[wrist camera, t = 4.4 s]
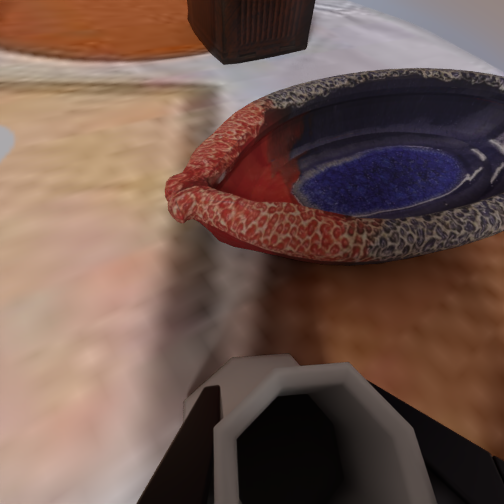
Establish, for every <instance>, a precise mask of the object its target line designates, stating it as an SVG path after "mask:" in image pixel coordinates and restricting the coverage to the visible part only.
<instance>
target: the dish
mask: <svg viewBox="0 0 504 504" xmlns="http://www.w3.org/2000/svg"><path fill="white" fill-rule="evenodd" d="M165 197H166V199H167V201H168V211H169V212H170V214H171V216H172V217H173V218H174V219H175V220H176V221H177V222H180V223H185V222H186V221H187V220H190V219H194V220H196V221H198V222H200V223H201V224H202V225H203V226H205V227H206V228H207V229H208V230H209V231H210V232H211V233H212V234H213V235H214V236H215V237H216V238H217V239H218V240H219V241H221V242H224V243H226V244H229V245H231V246H234V247H238V248H243V249H249V250H254V251H259V252H263V253H268V254H272V255H277V256H281V257H285V258H290V259H294V260H299V261H306V262H312V263H318V264H329V265H349V266H350V265H364V264H377V263H384V262H390V261H396V260H402V259H408V258H412V257H416V256H420V255H424V254H429V253H433V252H437V251H441V250H446V249H450V248H454V247H458V246H462V245H465V244H468V243H471V242H474V241H478V240H481V239H484V238H487V237H490V236H493V235H495V234H497V233H500V232H502V231H504V77H502V76H497V75H493V74H486V73H480V72H473V71H463V70H452V69H431V68H406V69H387V70H376V71H366V72H358V73H351V74H345V75H338V76H334V77H329V78H324V79H319V80H314V81H310V82H306V83H302V84H298V85H294V86H291V87H288V88H285V89H282V90H279V91H276V92H273V93H271V94H269V95H267V96H264V97H262V98H260V99H258V100H256V101H253V102H252V103H250V104H248V105H247V106H245V107H243V108H242V109H240V110H239V111H237V112H235V113H234V114H233V115H232V116H231V117H230V118H229V119H227V120H226V121H225V122H224V123H223V124H222V125H221V126H220V127H219V128H218V129H217V130H216V131H215V132H214V133H213V134H212V135H211V136H210V137H208V138H207V139H206V140H205V141H204V142H203V143H202V144H201V145H200V146H199V147H198V148H197V149H196V150H195V151H194V153H193V154H192V155H191V158H190V160H189V162H188V165H187V166H186V168H185V169H184V171H183V172H182V173H180V174H177V175H174V176H172V177H170V178H169V179H168V181H167V182H166V187H165Z"/></svg>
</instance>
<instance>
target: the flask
mask: <svg viewBox="0 0 504 504" xmlns="http://www.w3.org/2000/svg"><path fill="white" fill-rule="evenodd" d="M212 385H219V386H220V388H221V397H222V407H223V419H222V420H221V421H220V422H219V423H218V424H217V425H216V426H215V427H214V504H437V501H436V498H435V495H434V492H433V489H432V485H431V482H430V479H429V476H428V473H427V470H426V467H425V463H424V460H423V457H422V454H421V451H420V448H419V445H418V441H417V438H416V435H415V432H414V429H413V427H412V426H411V425H410V424H409V423H408V422H407V421H406V420H405V419H404V418H403V417H402V416H401V415H400V414H399V413H398V412H397V411H396V410H395V409H394V408H393V407H392V406H391V405H390V404H389V403H388V402H387V401H386V400H385V399H384V398H383V397H382V396H381V395H380V394H379V393H378V392H377V391H376V390H375V389H374V388H373V387H372V385H371V384H370V383H369V382H368V381H367V380H366V379H365V378H364V377H363V376H362V375H361V374H360V373H359V372H358V371H357V370H356V369H355V368H354V367H353V366H352V365H351V364H350V363H349V362H343V363H331V364H319V365H307V366H300V365H299V364H298V363H297V362H296V360H295V359H294V358H293V357H292V356H291V355H290V354H289V353H286V354H273V355H260V356H247V357H234V358H231V359H230V360H229V361H228V362H227V363H226V364H225V365H223V366H222V367H221V368H220V369H219V370H218V371H217V372H216V373H215V374H213V375H212V376H211V377H210V378H209V379H208V380H207V381H206V382H204V383H203V384H202V385H201V386H200V387H199V388H198V389H197V390H196V391H194V392H193V393H192V394H191V395H190V396H189V397H188V398H187V399H185V400H184V410H183V422H184V421H185V419H186V417H187V416H188V414H189V412H190V410H191V409H192V407H193V405H194V403H195V402H196V400H197V398H198V397H199V395H200V393H201V391H202V390H203V388H204V387H206V386H212Z"/></svg>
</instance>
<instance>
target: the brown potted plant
mask: <svg viewBox="0 0 504 504" xmlns="http://www.w3.org/2000/svg"><path fill="white" fill-rule="evenodd" d="M187 4H188V21H189V23H190V25H191V27H192V29H193V31H194V33H195V34H196V36H197V37H198V38H199V39H200V41H201V42H202V43H203V44H204V46H205V47H206V48H207V49H208V51H209V52H210V53H211V54H212V55H213V56H214V57H216V58H217V59H218V60H219V61H220V62H221V63H222V64H224V65H225V64H237V63H243V62H249V61H254V60H259V59H265V58H270V57H275V56H279V55H283V54H287V53H291V52H295V51H300V50H304V49H306V47H307V40H308V35H309V30H310V25H311V20H312V15H313V9H314V4H315V0H187Z"/></svg>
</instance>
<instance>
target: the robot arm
mask: <svg viewBox="0 0 504 504" xmlns="http://www.w3.org/2000/svg"><path fill="white" fill-rule="evenodd" d="M367 381H368V380H367ZM368 382H369V381H368ZM369 383H370V384H371V385H372V387H373V388H374V389H375V390H376V391H377V392H378V393H379V394H380V395H381V396H382V397H383V398H384V399H385V400H386V401H387V402H388V403H389V404H390V405H391V406H392V407H393V408H394V409H395V410H396V411H397V412H398V413H399V414H400V415H401V416H402V417H403V418H404V419H405V420H406V421H407V422H408V423H409V424H410V425H411V426H412V427H413V429H414V432H415V435H416V438H417V441H418V445H419V448H420V451H421V454H422V457H423V460H424V463H425V467H426V470H427V473H428V476H429V479H430V482H431V485H432V489H433V492H434V495H435V498H436V501H437V504H504V461H503V460H501V459H500V458H498V457H496V456H492V455H491V454H490V453H489V452H488V451H486V450H484V449H483V448H481V447H479V446H478V445H476V444H474V443H472V442H471V441H469V440H467V439H466V438H464V437H462V436H461V435H459V434H457V433H456V432H454V431H452V430H451V429H449V428H447V427H445V426H444V425H442V424H440V423H439V422H437V421H435V420H434V419H432V418H430V417H429V416H427V415H425V414H423V413H422V412H420V411H418V410H417V409H415V408H413V407H412V406H410V405H408V404H407V403H405V402H403V401H402V400H400V399H398V398H396V397H395V396H393V395H391V394H390V393H388V392H386V391H385V390H383V389H381V388H380V387H378V386H376V385H375V384H373V383H371V382H369ZM222 419H223V407H222V397H221V388H220V386H219V385H212V386H206V387H204V388H203V390H202V391H201V393H200V395H199V397H198V398H197V400H196V402H195V403H194V405H193V407H192V409H191V410H190V412H189V414H188V416H187V417H186V419H185V421H184V422H183V424H182V426H181V428H180V429H179V431H178V433H177V435H176V436H175V438H174V440H173V441H172V443H171V445H170V447H169V448H168V450H167V452H166V454H165V455H164V457H163V459H162V460H161V462H160V464H159V466H158V467H157V469H156V471H155V473H154V474H153V476H152V478H151V479H150V481H149V483H148V485H147V486H146V488H145V490H144V491H143V493H142V495H141V497H140V498H139V500H138V502H137V504H214V427H215V426H216V425H217V424H218V423H219V422H220V421H221V420H222Z"/></svg>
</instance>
